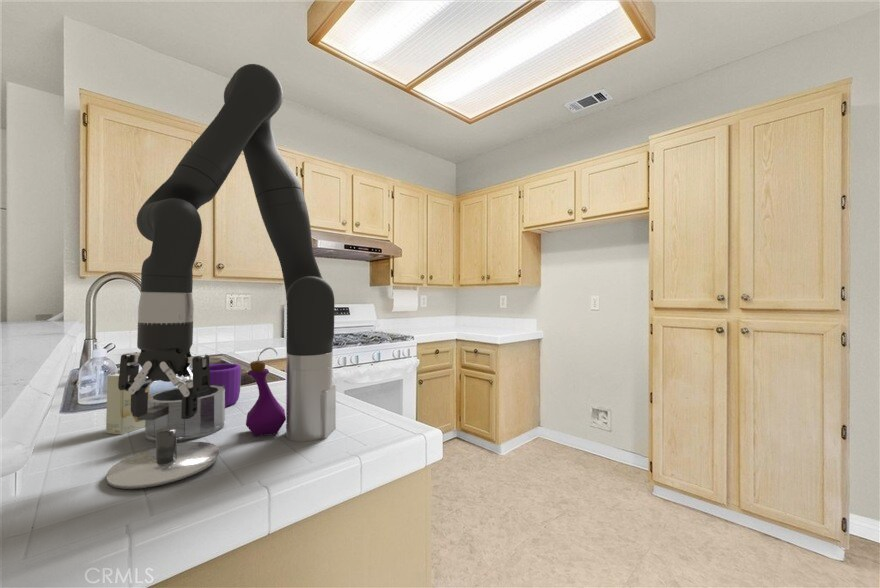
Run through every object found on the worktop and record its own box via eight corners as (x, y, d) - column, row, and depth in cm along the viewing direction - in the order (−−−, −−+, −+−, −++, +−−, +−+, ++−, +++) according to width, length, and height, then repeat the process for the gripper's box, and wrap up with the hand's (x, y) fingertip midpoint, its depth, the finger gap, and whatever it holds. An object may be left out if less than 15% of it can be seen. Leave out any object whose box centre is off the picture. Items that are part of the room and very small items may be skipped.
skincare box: (121, 435, 78) (121, 376, 78) (104, 434, 79) (105, 375, 79) (151, 425, 85) (151, 370, 85) (135, 423, 86) (135, 369, 86)
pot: (246, 414, 92) (246, 381, 92) (181, 451, 70) (181, 408, 70) (190, 413, 93) (190, 381, 93) (109, 450, 71) (109, 407, 71)
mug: (246, 404, 101) (246, 367, 101) (196, 414, 93) (197, 373, 93) (227, 392, 113) (227, 359, 113) (182, 399, 105) (182, 363, 105)
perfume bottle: (245, 440, 76) (245, 350, 76) (247, 428, 82) (247, 346, 82) (286, 435, 79) (286, 348, 79) (284, 423, 86) (284, 344, 86)
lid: (236, 451, 70) (235, 414, 70) (180, 495, 55) (179, 449, 55) (156, 451, 71) (156, 415, 70) (78, 495, 56) (77, 449, 55)
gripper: (221, 319, 67) (219, 411, 66) (145, 317, 68) (142, 408, 67) (190, 322, 59) (187, 426, 59) (105, 319, 60) (102, 422, 60)
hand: (163, 416), depth 63 cm, fingers open, 8 cm apart
